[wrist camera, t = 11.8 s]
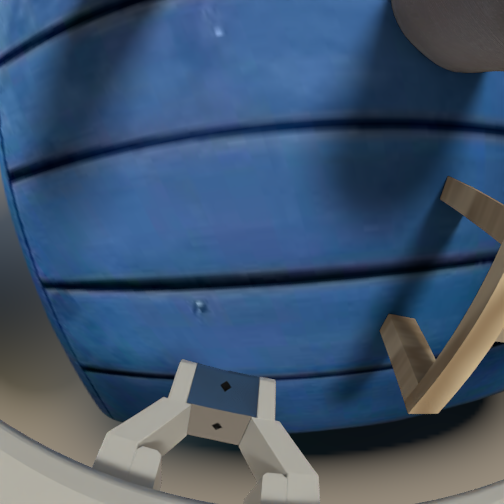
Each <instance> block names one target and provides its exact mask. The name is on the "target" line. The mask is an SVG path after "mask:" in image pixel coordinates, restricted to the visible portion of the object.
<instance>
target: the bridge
mask: <svg viewBox="0 0 504 504" xmlns="http://www.w3.org/2000/svg"><path fill="white" fill-rule="evenodd" d="M440 200H442V201H443V202H445V203H446V204H448V205H449V206H451V207H452V208H454V209H455V210H456V211H458V212H459V213H461V214H462V215H463V216H465V217H466V218H468V219H469V220H470V221H472V222H473V223H474V224H476V225H477V226H478V227H480V228H481V229H482V230H484V231H485V232H486V233H488V234H489V235H490V236H492V237H493V238H494V239H495V240H497V241H498V242H499V243H500V244H501V246H500V249H499V251H498V253H497V255H496V257H495V260H494V262H493V264H492V266H491V268H490V270H489V272H488V274H487V276H486V278H485V280H484V282H483V284H482V286H481V287H480V289H479V291H478V293H477V295H476V297H475V299H474V300H473V302H472V304H471V306H470V307H469V309H468V311H467V313H466V314H465V316H464V318H463V319H462V321H461V323H460V324H459V326H458V327H457V329H456V331H455V332H454V334H453V335H452V337H451V338H450V340H449V341H448V343H447V344H446V346H445V347H444V349H443V350H442V352H441V353H440V355H439V356H438V358H437V359H435V357H434V355H433V353H432V351H431V349H430V347H429V345H428V343H427V341H426V339H425V337H424V335H423V333H422V332H421V330H420V328H419V326H418V324H417V322H416V320H415V319H414V318H408V317H403V316H398V315H393V314H388V316H387V318H386V320H385V322H384V323H383V325H382V327H381V329H380V333H381V336H382V339H383V341H384V344H385V347H386V350H387V352H388V355H389V358H390V361H391V364H392V366H393V369H394V372H395V375H396V378H397V381H398V384H399V387H400V390H401V393H402V396H403V399H404V402H405V406H406V409H407V412H408V414H436V413H437V414H438V413H439V412H440V411H441V410H442V408H443V407H444V406H445V405H446V404H447V403H448V402H449V401H450V399H451V398H452V397H453V396H454V395H455V394H456V392H457V391H458V390H459V389H460V388H461V386H462V385H463V384H464V383H465V381H466V380H467V379H468V378H469V376H470V375H471V374H472V372H473V371H474V370H475V369H476V367H477V366H478V365H479V363H480V362H481V360H482V359H483V358H484V356H485V355H486V354H487V352H488V351H489V349H490V348H491V346H492V345H493V343H494V342H495V340H496V339H497V337H498V336H499V334H500V333H501V331H502V330H503V328H504V205H503V204H502V203H500V202H498V201H496V200H495V199H493V198H491V197H489V196H488V195H486V194H484V193H482V192H480V191H479V190H477V189H475V188H473V187H471V186H469V185H467V184H465V183H463V182H460V181H458V180H456V179H454V178H452V177H450V176H448V178H447V181H446V183H445V186H444V189H443V192H442V195H441V198H440Z"/></svg>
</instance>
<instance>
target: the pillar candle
mask: <svg viewBox="0 0 504 504" xmlns="http://www.w3.org/2000/svg"><path fill="white" fill-rule="evenodd" d="M391 3H392V9H393V12H394V16H395V18H396V21H397V23H398V24H399V27H400V28H401V30H402V32H403V34H404V35H405V36H406V38H407V39H408V40H409V41H410V42H411V43H412V44H413V45H414V46H415V47H416V48H417V49H418V50H419V51H420V52H421V53H422V54H424V55H425V56H426V57H427V58H429V59H430V60H431V61H433V62H434V63H435V64H437V65H439V66H440V67H442V68H445V69H447V70H450V71H453V72H462V73H478V72H490V71H504V0H391Z"/></svg>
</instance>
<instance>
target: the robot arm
mask: <svg viewBox="0 0 504 504" xmlns="http://www.w3.org/2000/svg"><path fill="white" fill-rule="evenodd" d="M275 398H276V382H275V380H274V379H269V378H263V377H258V376H253V375H248V374H243V373H237V372H233V371H226V370H222V369H218V368H214V367H210V366H206V365H203V364H199V363H195V362H191V361H187V360H184V359H182V360H181V362H180V364H179V367H178V369H177V372H176V375H175V378H174V381H173V384H172V387H171V390H170V393H169V396H168V398H166V397H162V398H161V399H159V400H158V401H156V402H155V403H153V404H152V405H150V406H149V407H147V408H145V409H144V410H142V411H141V412H139V413H138V414H136V415H134V416H133V417H131V418H130V419H128V420H126V421H125V422H123V423H122V424H120V425H119V426H117V427H115V428H114V429H112V430H110V431H109V432H107V434H106V436H105V439H104V441H103V444H102V446H101V448H100V450H99V453H98V455H97V457H96V460H95V462H94V465H93V467H92V468H91V467H89V466H86V465H84V464H82V463H79V462H77V461H75V460H73V459H71V458H68V457H66V456H64V455H62V454H60V453H58V452H56V451H54V450H52V449H50V448H48V447H46V446H44V445H42V444H41V443H39V442H37V441H35V440H33V439H31V438H30V437H28V436H26V435H24V434H23V433H21V432H19V431H18V430H16V429H14V428H13V427H11V426H10V425H8V424H6V423H5V422H3V421H2V420H0V504H214V503H208V502H204V501H199V500H193V499H189V498H185V497H181V496H176V495H173V494H168V493H165V492H161V491H160V488H161V484H162V471H161V470H162V465H161V463H162V462H161V461H162V460H161V459H162V456H164V455H165V454H166V453H167V452H168V451H169V450H170V449H172V448H173V447H174V446H175V445H176V444H178V442H180V441H181V440H182V439H183V438H184V437H186V435H187V434H188V435H193V436H197V437H202V438H208V439H213V440H217V441H221V442H226V443H231V444H235V445H239V448H240V450H241V452H242V454H243V456H244V458H245V460H246V462H247V464H248V466H249V468H250V470H251V472H252V474H253V476H254V478H255V480H256V482H257V484H256V485H255V487H254V488H253V489H252V490H251V492H250V493H249V494H248V495H247V497H246V498H245V499H244V504H320V496H319V476H318V474H317V473H316V472H315V470H314V469H313V467H312V466H311V465H310V463H309V462H308V461H307V459H306V458H305V457H304V455H303V454H302V453H301V451H300V450H299V448H298V447H297V446H296V445H295V443H294V441H293V440H292V439H291V437H290V436H289V434H288V433H287V432H286V430H285V429H284V427H283V426H282V424H281V423H280V422H279V421H275ZM417 504H504V480H501V481H498V482H496V483H493V484H490V485H487V486H484V487H481V488H478V489H474V490H471V491H468V492H464V493H461V494H457V495H453V496H449V497H445V498H441V499H437V500H432V501H427V502H422V503H417Z"/></svg>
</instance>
